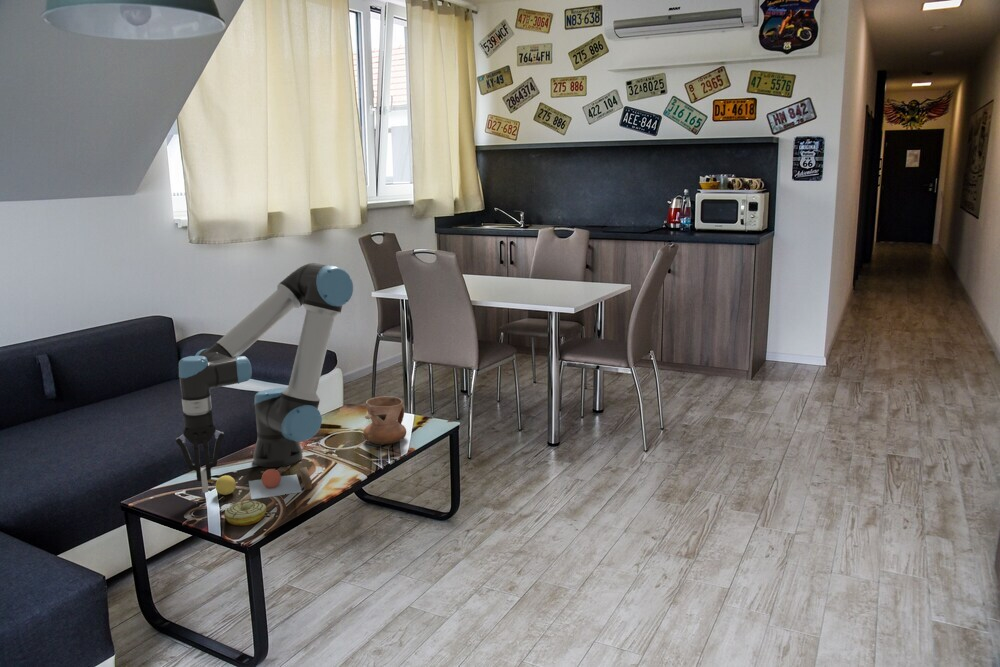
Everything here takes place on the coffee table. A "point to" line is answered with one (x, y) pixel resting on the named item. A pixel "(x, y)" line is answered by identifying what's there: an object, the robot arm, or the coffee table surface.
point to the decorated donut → (245, 513)
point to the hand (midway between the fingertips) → (205, 490)
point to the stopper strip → (305, 478)
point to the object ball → (271, 478)
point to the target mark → (284, 487)
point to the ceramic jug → (385, 420)
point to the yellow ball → (225, 485)
